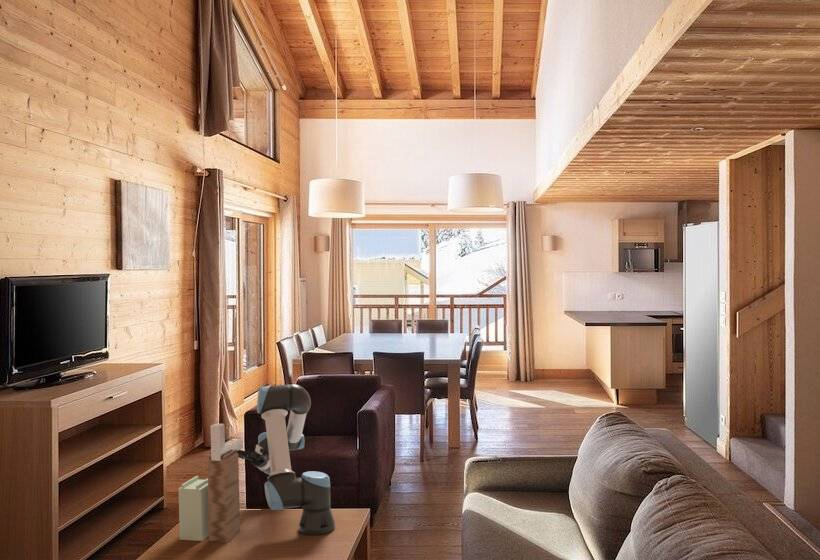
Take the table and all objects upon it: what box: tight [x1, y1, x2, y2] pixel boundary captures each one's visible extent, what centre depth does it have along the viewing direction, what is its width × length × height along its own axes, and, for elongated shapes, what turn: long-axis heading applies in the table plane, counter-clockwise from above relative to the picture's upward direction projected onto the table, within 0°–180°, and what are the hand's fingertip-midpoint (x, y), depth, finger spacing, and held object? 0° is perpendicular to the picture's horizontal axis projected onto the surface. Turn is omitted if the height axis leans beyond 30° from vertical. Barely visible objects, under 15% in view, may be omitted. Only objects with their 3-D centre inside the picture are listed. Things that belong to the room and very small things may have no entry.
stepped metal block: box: [210, 423, 244, 461], centre depth 271 cm, size 20×4×14 cm, turn 168°
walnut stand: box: [207, 449, 241, 543], centre depth 267 cm, size 8×11×34 cm
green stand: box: [178, 475, 209, 542], centre depth 270 cm, size 10×12×22 cm
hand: (242, 447), depth 285 cm, fingers open, 13 cm apart
